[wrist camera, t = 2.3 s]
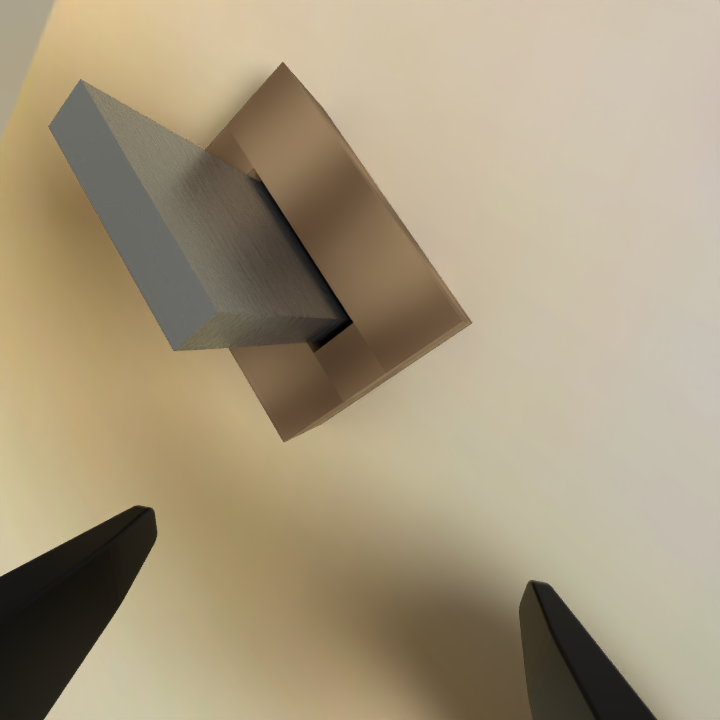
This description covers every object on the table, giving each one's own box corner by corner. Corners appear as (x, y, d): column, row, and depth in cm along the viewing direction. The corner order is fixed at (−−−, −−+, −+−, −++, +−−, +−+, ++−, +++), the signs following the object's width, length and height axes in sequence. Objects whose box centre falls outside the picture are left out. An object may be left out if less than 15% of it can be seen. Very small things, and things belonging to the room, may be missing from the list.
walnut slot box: (472, 323, 19) (462, 321, 16) (321, 424, 23) (283, 442, 19) (323, 108, 21) (282, 61, 18) (204, 230, 25) (149, 213, 21)
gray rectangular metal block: (367, 320, 20) (217, 312, 10) (340, 340, 21) (174, 351, 11) (287, 198, 21) (80, 78, 11) (264, 220, 22) (48, 126, 12)
